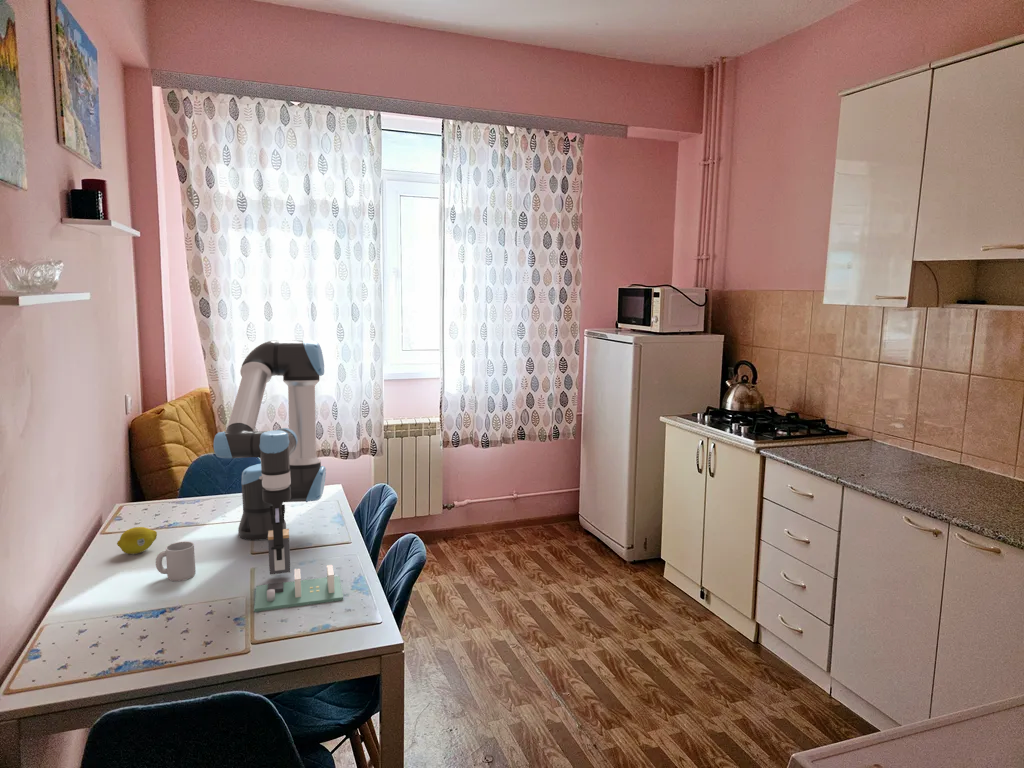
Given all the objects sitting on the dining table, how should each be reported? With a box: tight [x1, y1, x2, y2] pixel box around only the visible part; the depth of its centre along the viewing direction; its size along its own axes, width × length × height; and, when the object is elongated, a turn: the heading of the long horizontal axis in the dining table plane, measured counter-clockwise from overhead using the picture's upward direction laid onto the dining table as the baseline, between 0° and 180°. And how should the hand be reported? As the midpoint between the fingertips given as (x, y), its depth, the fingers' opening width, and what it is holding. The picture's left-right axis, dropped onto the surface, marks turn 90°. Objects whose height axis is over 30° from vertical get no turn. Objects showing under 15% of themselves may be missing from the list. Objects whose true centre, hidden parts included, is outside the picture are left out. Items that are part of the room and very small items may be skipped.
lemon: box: [116, 526, 158, 555], centre depth 205 cm, size 11×8×8 cm
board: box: [253, 564, 344, 613], centre depth 177 cm, size 14×22×6 cm, turn 109°
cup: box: [155, 541, 196, 582], centre depth 187 cm, size 7×10×9 cm
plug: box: [267, 528, 291, 576], centre depth 187 cm, size 5×6×11 cm
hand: (280, 565), depth 188 cm, fingers closed on plug, 5 cm apart
